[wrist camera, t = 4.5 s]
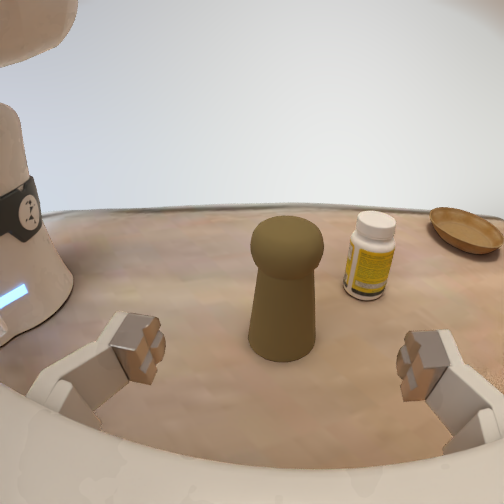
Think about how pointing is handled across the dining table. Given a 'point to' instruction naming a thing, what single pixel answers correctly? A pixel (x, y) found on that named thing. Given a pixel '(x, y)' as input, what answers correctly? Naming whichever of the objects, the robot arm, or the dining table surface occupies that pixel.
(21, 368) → the dining table surface
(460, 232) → the plant saucer
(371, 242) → the supplement bottle
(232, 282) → the dining table surface
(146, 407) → the dining table surface
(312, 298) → the pepper shaker
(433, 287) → the dining table surface
